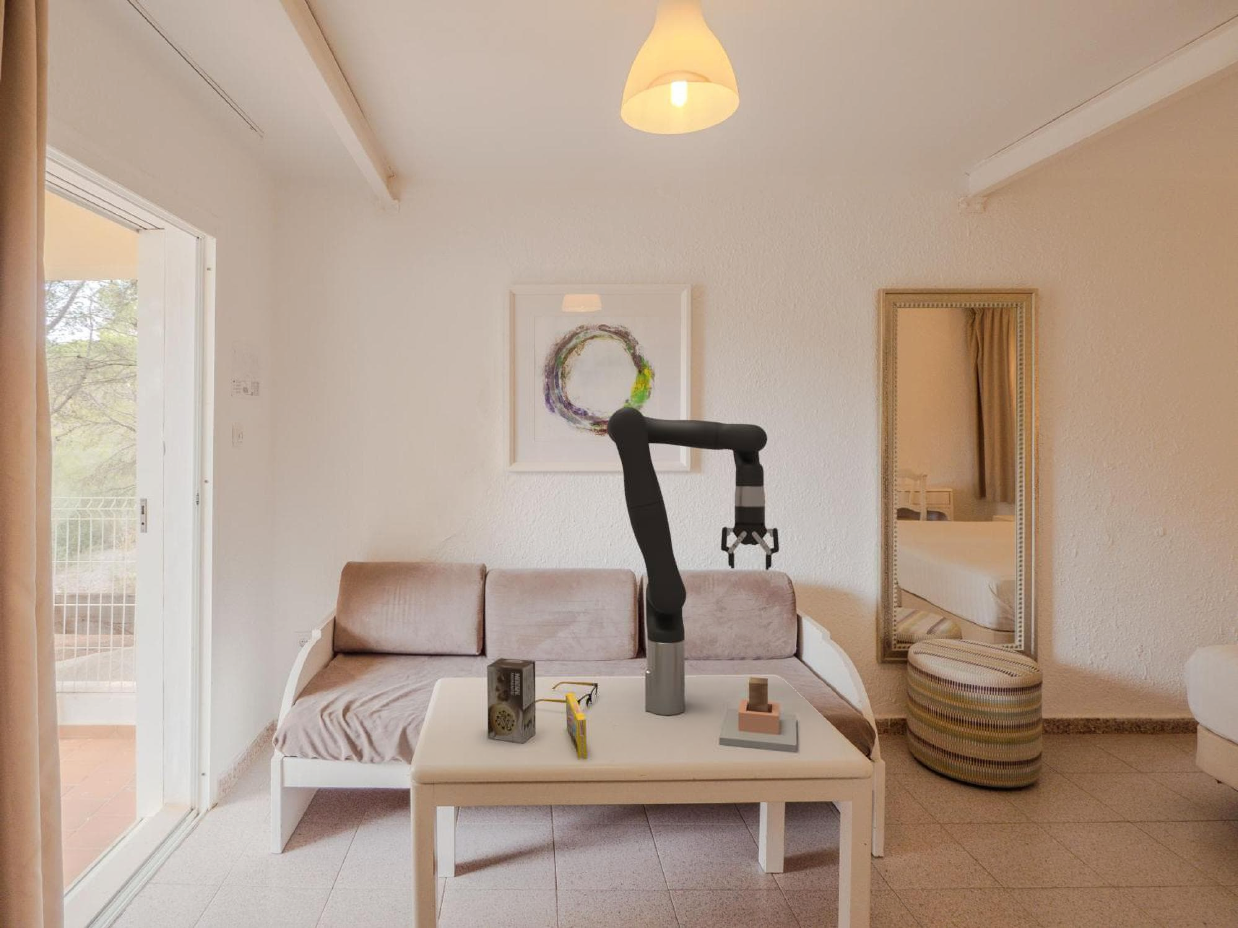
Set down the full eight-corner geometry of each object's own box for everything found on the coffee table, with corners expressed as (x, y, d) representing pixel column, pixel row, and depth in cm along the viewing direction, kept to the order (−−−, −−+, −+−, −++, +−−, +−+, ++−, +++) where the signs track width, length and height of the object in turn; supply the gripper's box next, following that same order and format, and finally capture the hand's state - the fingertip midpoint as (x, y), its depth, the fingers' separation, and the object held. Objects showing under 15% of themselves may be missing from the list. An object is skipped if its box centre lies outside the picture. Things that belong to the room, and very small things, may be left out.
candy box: (565, 729, 148) (565, 692, 149) (574, 728, 149) (574, 692, 149) (577, 759, 133) (577, 718, 133) (587, 758, 133) (587, 717, 133)
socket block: (719, 744, 140) (719, 718, 140) (727, 714, 157) (727, 691, 157) (796, 752, 136) (796, 725, 136) (796, 720, 153) (795, 697, 153)
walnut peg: (749, 727, 145) (748, 682, 145) (750, 720, 149) (749, 676, 149) (767, 729, 144) (767, 683, 144) (768, 722, 148) (767, 678, 148)
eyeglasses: (581, 717, 157) (581, 700, 157) (526, 710, 161) (526, 694, 161) (601, 697, 170) (601, 682, 170) (550, 692, 175) (550, 677, 175)
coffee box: (536, 732, 146) (536, 660, 146) (523, 744, 140) (523, 668, 140) (500, 727, 149) (500, 656, 149) (486, 738, 143) (486, 664, 143)
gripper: (719, 504, 163) (719, 569, 162) (778, 505, 159) (778, 572, 159) (722, 503, 170) (723, 565, 170) (779, 504, 166) (779, 567, 166)
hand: (749, 568), depth 164 cm, fingers open, 8 cm apart
